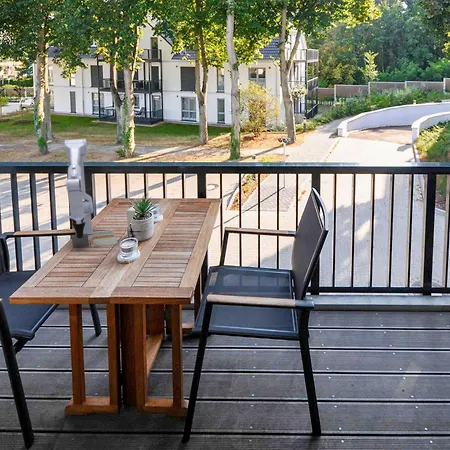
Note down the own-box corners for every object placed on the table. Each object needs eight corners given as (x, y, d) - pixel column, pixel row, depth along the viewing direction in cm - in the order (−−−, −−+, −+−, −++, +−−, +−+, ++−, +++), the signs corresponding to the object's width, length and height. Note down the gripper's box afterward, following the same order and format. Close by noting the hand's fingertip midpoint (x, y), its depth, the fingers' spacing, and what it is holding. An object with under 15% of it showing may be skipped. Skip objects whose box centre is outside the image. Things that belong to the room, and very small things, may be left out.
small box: (139, 232, 301) (137, 210, 298) (128, 232, 302) (126, 210, 299) (144, 227, 308) (143, 206, 305) (133, 227, 309) (132, 206, 306)
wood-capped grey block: (72, 246, 284) (71, 235, 283) (88, 244, 286) (87, 233, 284) (72, 248, 281) (71, 237, 280) (89, 246, 283) (87, 235, 282)
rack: (89, 238, 293) (88, 232, 292) (113, 236, 296) (113, 229, 295) (91, 247, 281) (91, 240, 280) (116, 244, 284) (116, 237, 283)
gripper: (66, 202, 284) (69, 232, 288) (67, 210, 271) (71, 241, 274) (82, 201, 286) (85, 230, 289) (84, 208, 272) (87, 239, 276)
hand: (79, 235), depth 282 cm, fingers open, 7 cm apart
